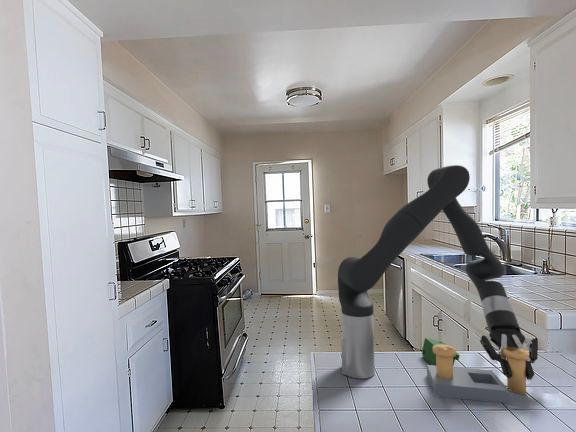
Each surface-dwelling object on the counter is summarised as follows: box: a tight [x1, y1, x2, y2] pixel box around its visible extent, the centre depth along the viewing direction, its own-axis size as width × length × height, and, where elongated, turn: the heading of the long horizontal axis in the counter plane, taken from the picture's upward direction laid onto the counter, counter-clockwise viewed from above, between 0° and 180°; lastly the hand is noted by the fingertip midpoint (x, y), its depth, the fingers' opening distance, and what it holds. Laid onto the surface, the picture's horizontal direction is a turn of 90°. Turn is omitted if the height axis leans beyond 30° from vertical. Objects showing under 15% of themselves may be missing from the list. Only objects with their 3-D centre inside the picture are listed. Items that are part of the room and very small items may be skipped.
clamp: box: [421, 337, 461, 367], centre depth 100 cm, size 12×6×9 cm, turn 175°
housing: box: [426, 344, 510, 404], centre depth 85 cm, size 16×11×10 cm, turn 77°
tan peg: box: [503, 347, 529, 395], centre depth 84 cm, size 6×6×10 cm
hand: (519, 377), depth 82 cm, fingers closed on tan peg, 4 cm apart
